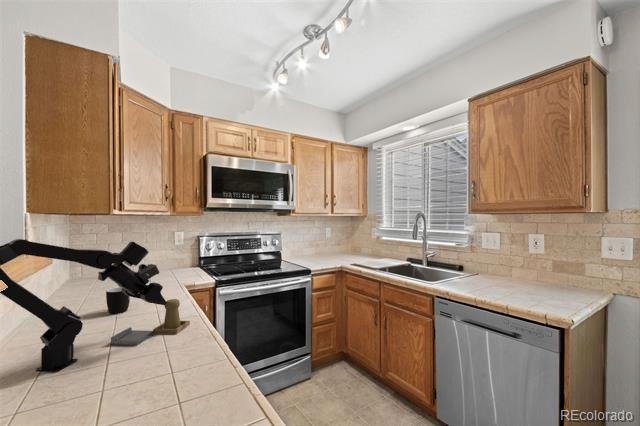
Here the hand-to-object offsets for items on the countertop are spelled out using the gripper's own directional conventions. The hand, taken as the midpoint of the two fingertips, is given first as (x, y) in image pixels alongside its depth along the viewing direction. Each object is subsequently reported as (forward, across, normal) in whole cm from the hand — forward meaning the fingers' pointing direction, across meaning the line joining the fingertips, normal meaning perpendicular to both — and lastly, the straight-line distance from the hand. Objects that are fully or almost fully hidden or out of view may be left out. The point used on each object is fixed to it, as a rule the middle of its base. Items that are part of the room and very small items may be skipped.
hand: (159, 301), depth 105 cm
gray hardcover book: (+2, +2, +14) cm, 14 cm away
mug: (+10, +42, +7) cm, 43 cm away
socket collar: (+11, 0, +5) cm, 12 cm away
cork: (+12, 0, +5) cm, 13 cm away
